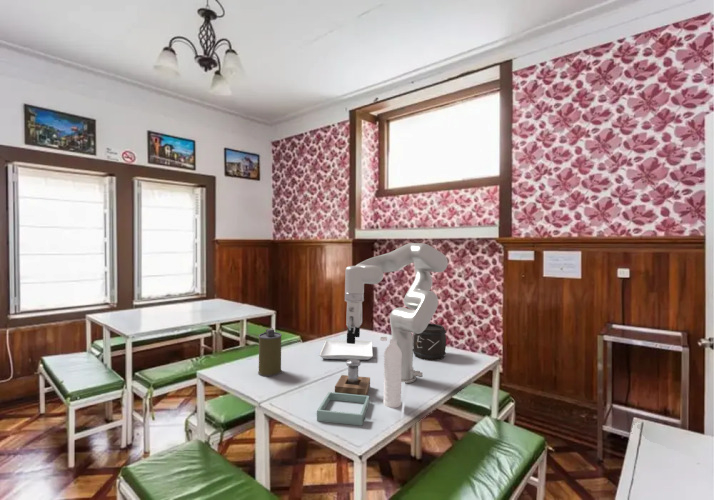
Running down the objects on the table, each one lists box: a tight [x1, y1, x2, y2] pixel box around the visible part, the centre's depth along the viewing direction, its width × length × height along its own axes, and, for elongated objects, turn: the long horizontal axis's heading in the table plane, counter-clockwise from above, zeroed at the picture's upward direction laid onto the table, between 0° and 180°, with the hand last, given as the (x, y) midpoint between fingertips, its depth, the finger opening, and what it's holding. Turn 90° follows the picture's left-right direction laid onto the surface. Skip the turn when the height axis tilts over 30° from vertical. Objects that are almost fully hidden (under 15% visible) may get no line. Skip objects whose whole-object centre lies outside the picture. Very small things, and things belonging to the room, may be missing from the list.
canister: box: [257, 327, 283, 377], centre depth 170 cm, size 11×10×20 cm
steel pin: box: [345, 359, 361, 385], centre depth 147 cm, size 6×6×12 cm
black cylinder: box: [412, 322, 447, 361], centre depth 198 cm, size 18×18×16 cm
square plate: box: [318, 339, 374, 361], centre depth 200 cm, size 27×27×4 cm
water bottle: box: [379, 336, 402, 409], centre depth 138 cm, size 9×6×25 cm
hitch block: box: [334, 374, 371, 396], centre depth 147 cm, size 12×12×5 cm
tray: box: [316, 391, 370, 427], centre depth 132 cm, size 16×16×4 cm
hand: (353, 340), depth 147 cm, fingers open, 9 cm apart
